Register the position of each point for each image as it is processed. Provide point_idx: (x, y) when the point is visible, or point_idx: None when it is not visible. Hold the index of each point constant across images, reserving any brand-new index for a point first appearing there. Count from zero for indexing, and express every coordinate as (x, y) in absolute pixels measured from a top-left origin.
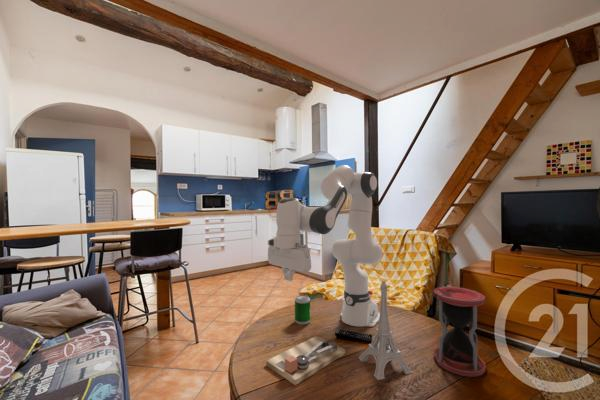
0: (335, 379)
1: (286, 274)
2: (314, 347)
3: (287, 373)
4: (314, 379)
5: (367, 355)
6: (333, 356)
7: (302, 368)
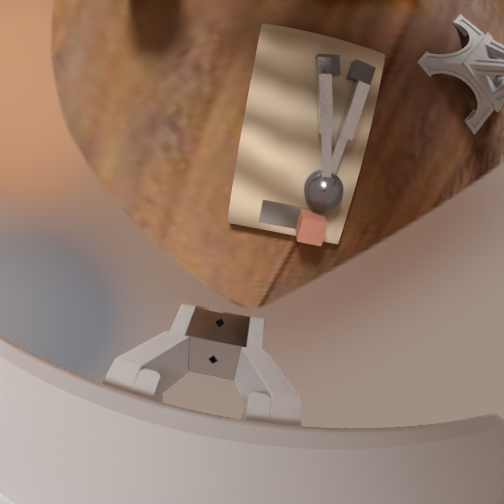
0: (404, 174)
1: (186, 361)
2: (324, 118)
3: None
4: (364, 199)
5: (448, 70)
6: (375, 104)
7: None
